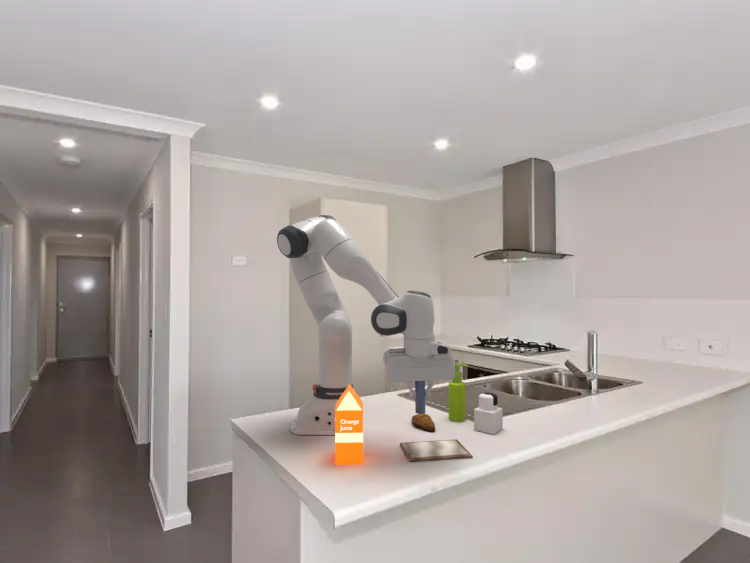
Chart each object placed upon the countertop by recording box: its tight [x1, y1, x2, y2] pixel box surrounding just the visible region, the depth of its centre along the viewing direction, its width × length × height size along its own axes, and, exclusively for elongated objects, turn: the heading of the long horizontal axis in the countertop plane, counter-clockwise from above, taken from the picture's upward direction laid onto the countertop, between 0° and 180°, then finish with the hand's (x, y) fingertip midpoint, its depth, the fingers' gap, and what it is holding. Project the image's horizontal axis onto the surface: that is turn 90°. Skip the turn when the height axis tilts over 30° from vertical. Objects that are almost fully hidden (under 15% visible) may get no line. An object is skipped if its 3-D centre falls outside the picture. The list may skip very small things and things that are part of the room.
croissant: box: [411, 412, 436, 433], centre depth 149 cm, size 14×7×5 cm, turn 24°
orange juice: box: [334, 384, 364, 466], centre depth 122 cm, size 8×9×20 cm
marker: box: [414, 381, 426, 415], centre depth 124 cm, size 3×3×12 cm
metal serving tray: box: [399, 438, 474, 463], centre depth 127 cm, size 18×13×2 cm
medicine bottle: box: [473, 392, 504, 435], centre depth 145 cm, size 7×7×12 cm
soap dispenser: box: [448, 362, 469, 423], centre depth 156 cm, size 6×7×20 cm
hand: (420, 396), depth 124 cm, fingers closed on marker, 3 cm apart
